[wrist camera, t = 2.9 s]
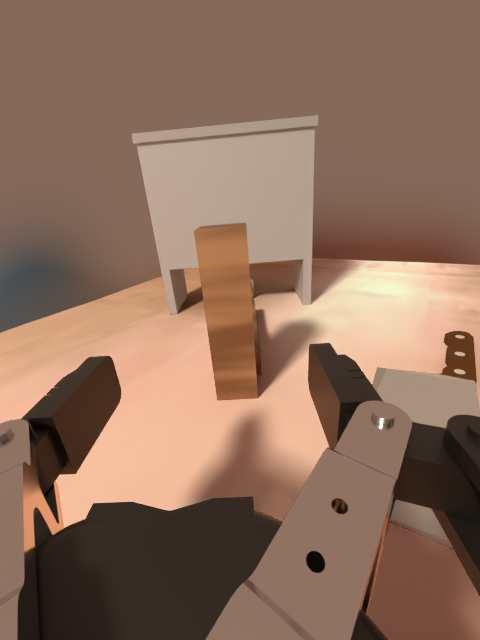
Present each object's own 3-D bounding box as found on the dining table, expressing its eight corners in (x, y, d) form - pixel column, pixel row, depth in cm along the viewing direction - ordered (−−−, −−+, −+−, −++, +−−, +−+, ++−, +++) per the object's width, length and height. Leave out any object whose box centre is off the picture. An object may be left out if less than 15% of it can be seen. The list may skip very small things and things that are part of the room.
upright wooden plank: (263, 397, 24) (254, 225, 18) (211, 400, 24) (186, 231, 19) (255, 315, 41) (248, 212, 35) (224, 317, 41) (213, 215, 36)
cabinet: (313, 304, 43) (318, 115, 33) (167, 315, 44) (131, 133, 34) (301, 286, 52) (302, 132, 42) (180, 295, 52) (154, 147, 43)
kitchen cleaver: (388, 322, 34) (498, 335, 28) (387, 330, 34) (496, 344, 29) (309, 483, 16) (561, 604, 11) (310, 495, 17) (553, 617, 11)
